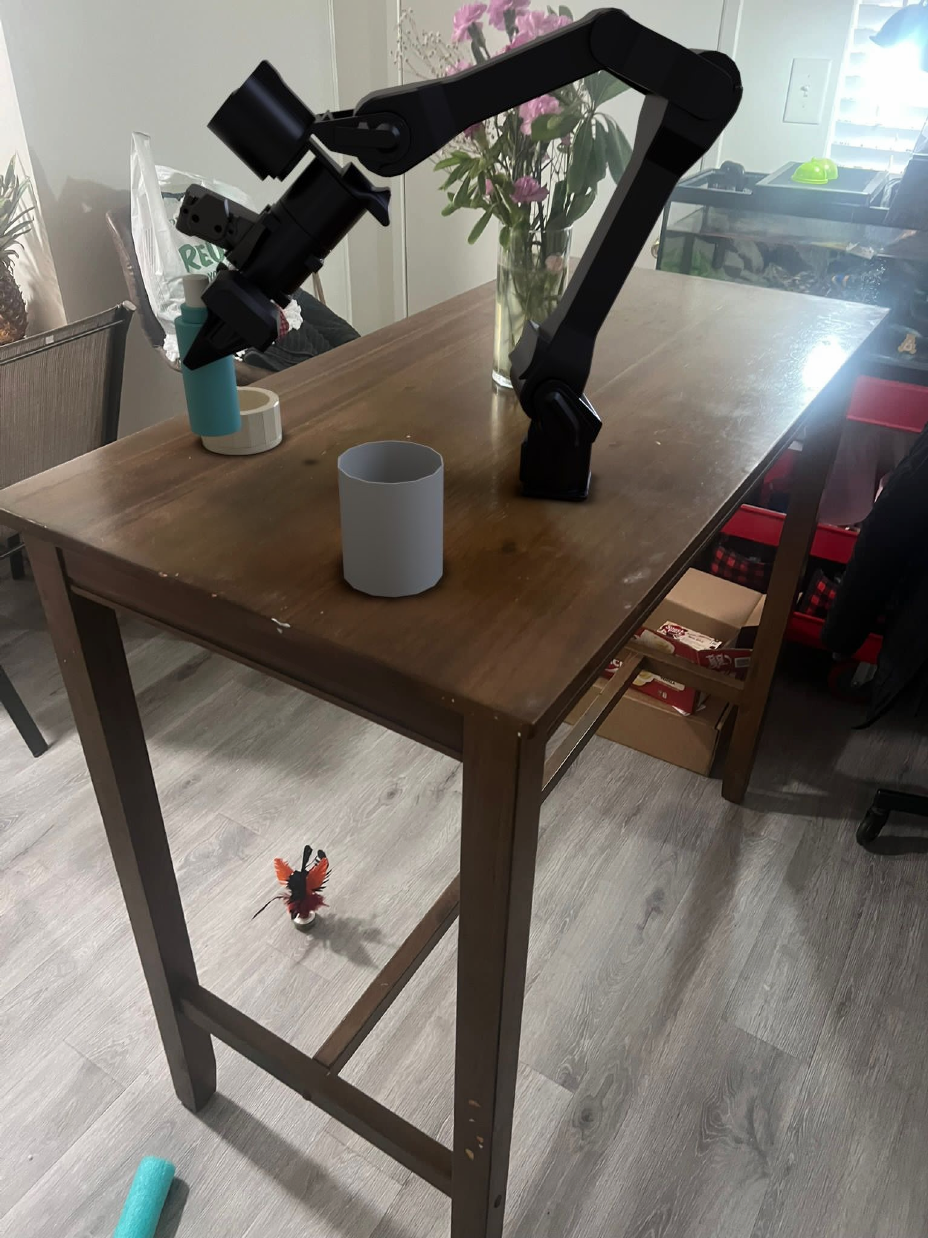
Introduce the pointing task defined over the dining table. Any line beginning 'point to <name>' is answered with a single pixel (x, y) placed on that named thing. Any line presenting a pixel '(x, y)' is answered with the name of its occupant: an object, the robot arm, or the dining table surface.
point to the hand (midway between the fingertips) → (191, 357)
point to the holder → (251, 425)
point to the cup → (391, 517)
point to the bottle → (205, 370)
